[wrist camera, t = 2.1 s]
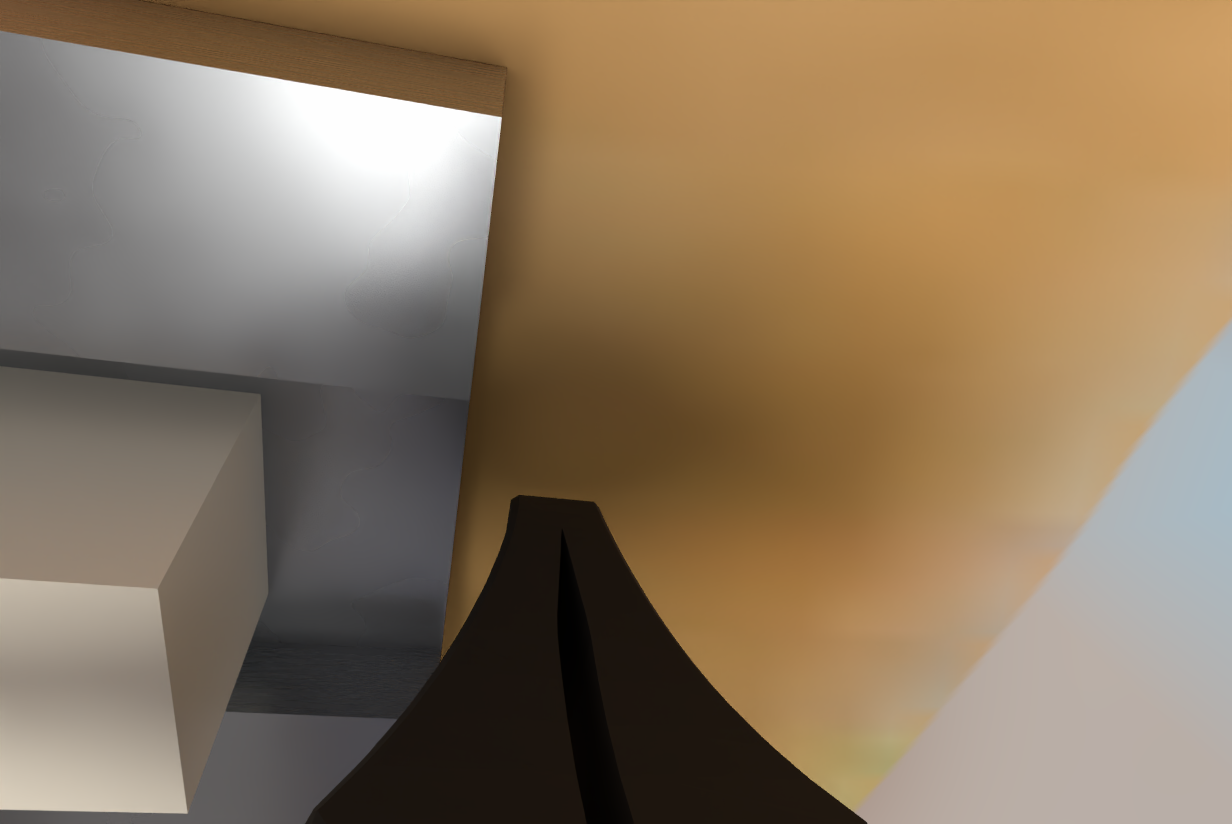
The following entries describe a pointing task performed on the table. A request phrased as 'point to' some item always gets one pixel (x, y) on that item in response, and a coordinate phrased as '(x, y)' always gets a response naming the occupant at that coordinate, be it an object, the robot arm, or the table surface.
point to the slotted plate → (268, 326)
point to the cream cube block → (122, 585)
